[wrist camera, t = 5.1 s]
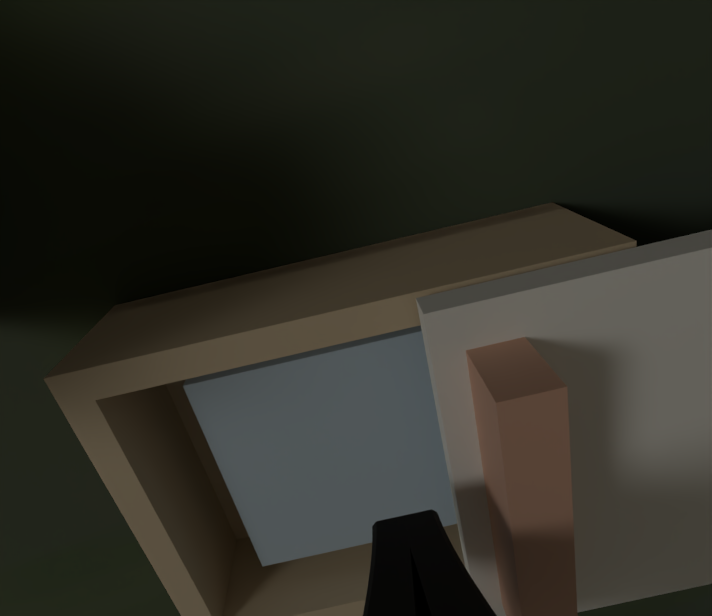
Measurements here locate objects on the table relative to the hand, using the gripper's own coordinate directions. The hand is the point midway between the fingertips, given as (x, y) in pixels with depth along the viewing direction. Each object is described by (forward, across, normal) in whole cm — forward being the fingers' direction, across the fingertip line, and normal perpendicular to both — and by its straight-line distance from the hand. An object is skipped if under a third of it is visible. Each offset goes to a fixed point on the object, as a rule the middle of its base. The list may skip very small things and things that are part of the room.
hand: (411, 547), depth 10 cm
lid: (+2, -8, 0) cm, 8 cm away
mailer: (+6, 0, 0) cm, 6 cm away
